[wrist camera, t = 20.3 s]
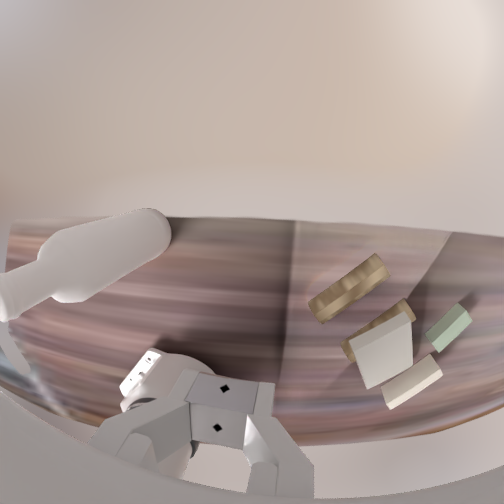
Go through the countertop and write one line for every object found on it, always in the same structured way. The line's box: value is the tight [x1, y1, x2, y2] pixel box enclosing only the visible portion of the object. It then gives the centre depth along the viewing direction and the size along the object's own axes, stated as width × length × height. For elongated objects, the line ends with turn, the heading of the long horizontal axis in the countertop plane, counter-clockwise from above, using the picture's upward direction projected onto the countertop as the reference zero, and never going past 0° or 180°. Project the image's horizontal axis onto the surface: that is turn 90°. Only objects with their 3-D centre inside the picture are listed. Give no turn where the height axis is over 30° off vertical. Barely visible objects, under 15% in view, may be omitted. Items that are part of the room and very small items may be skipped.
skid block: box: [425, 303, 472, 353], centre depth 40 cm, size 8×3×4 cm, turn 136°
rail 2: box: [341, 299, 416, 363], centre depth 41 cm, size 12×4×4 cm, turn 129°
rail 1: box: [308, 253, 390, 324], centre depth 40 cm, size 12×4×4 cm, turn 129°
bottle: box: [0, 208, 171, 322], centre depth 30 cm, size 8×8×30 cm
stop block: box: [380, 354, 443, 410], centre depth 42 cm, size 11×2×5 cm, turn 129°
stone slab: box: [349, 311, 413, 389], centre depth 40 cm, size 9×14×2 cm, turn 27°
